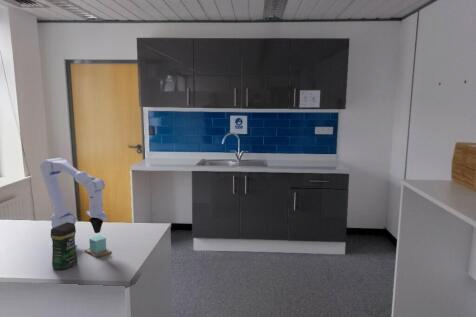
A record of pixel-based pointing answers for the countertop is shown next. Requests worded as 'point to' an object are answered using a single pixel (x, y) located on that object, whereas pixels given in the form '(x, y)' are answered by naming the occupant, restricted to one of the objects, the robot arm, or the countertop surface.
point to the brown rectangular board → (98, 253)
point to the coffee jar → (63, 246)
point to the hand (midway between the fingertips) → (97, 232)
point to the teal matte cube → (97, 244)
